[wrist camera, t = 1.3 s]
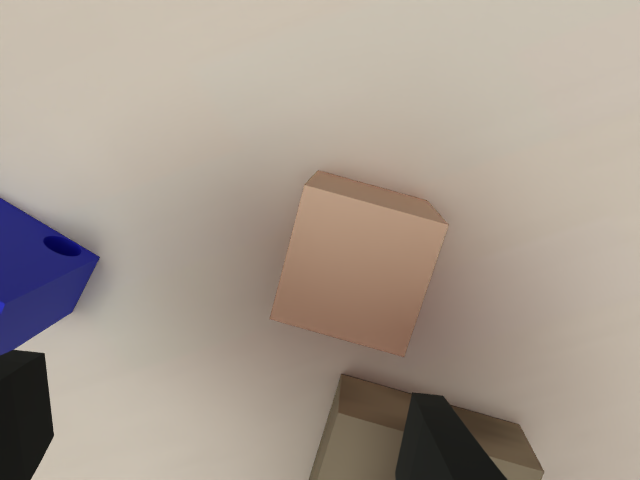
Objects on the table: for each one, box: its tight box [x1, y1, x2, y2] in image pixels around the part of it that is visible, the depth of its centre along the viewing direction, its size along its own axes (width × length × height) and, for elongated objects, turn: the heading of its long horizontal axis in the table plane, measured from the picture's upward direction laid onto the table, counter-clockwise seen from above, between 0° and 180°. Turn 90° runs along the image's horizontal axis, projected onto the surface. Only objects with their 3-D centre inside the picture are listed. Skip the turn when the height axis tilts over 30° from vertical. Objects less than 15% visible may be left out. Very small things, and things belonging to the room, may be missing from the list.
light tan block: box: [270, 171, 449, 357], centre depth 18 cm, size 4×4×5 cm
